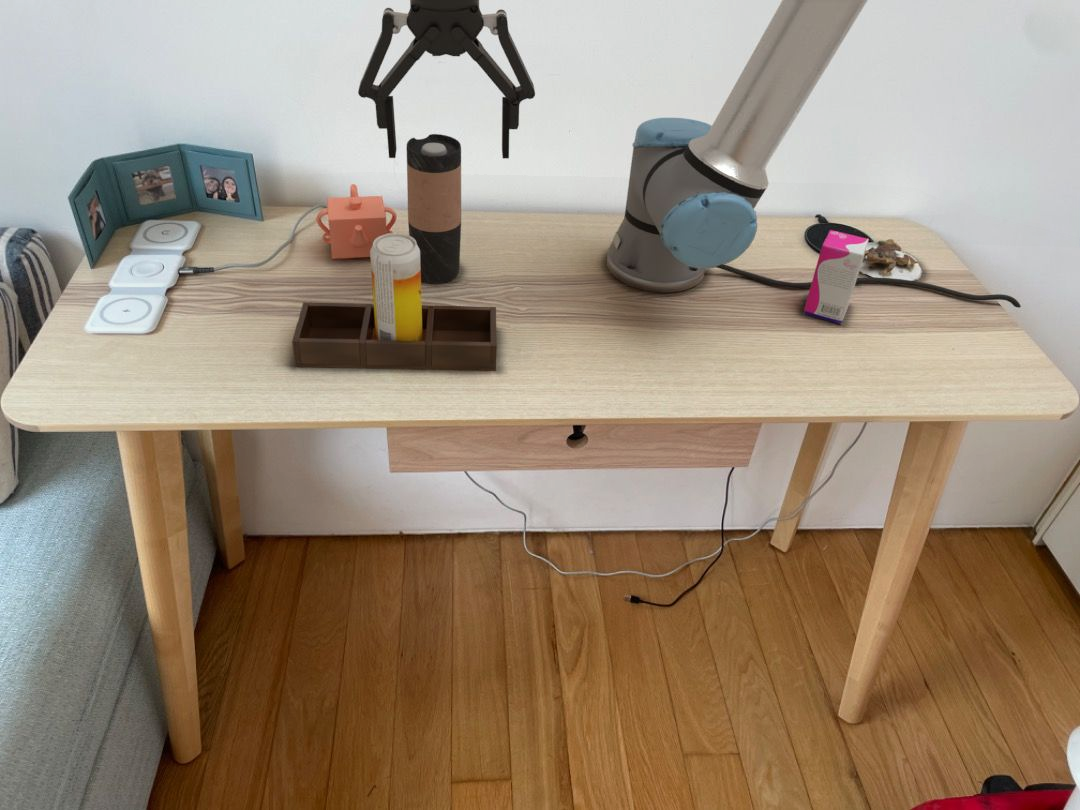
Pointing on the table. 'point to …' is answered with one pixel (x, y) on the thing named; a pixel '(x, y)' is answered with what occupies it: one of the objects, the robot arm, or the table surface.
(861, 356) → the table surface
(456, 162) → the travel mug
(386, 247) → the beer can
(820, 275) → the supplement box
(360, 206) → the teapot
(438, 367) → the rack
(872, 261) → the plate of food
